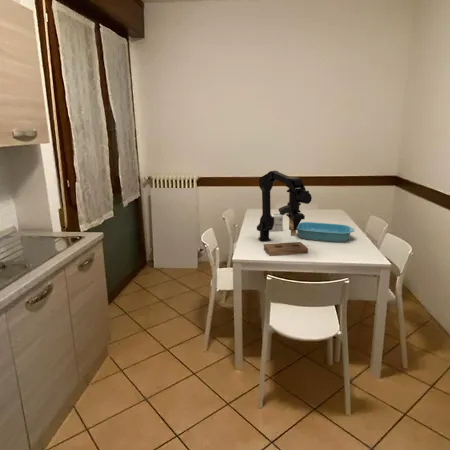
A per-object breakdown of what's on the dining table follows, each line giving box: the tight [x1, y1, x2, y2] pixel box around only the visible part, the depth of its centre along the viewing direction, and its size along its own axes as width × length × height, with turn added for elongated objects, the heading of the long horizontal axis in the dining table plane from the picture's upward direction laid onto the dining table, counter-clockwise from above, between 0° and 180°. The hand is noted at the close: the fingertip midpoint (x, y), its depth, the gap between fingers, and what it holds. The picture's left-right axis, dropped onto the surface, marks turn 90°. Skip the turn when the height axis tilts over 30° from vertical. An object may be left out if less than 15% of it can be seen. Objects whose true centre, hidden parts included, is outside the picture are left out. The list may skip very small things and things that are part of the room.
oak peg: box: [288, 217, 298, 237], centre depth 205 cm, size 5×5×10 cm
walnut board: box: [263, 241, 309, 257], centre depth 207 cm, size 12×22×3 cm, turn 98°
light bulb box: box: [269, 213, 284, 232], centre depth 249 cm, size 11×7×11 cm, turn 92°
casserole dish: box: [296, 221, 356, 243], centre depth 232 cm, size 37×22×7 cm, turn 71°
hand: (293, 228), depth 205 cm, fingers closed on oak peg, 5 cm apart
